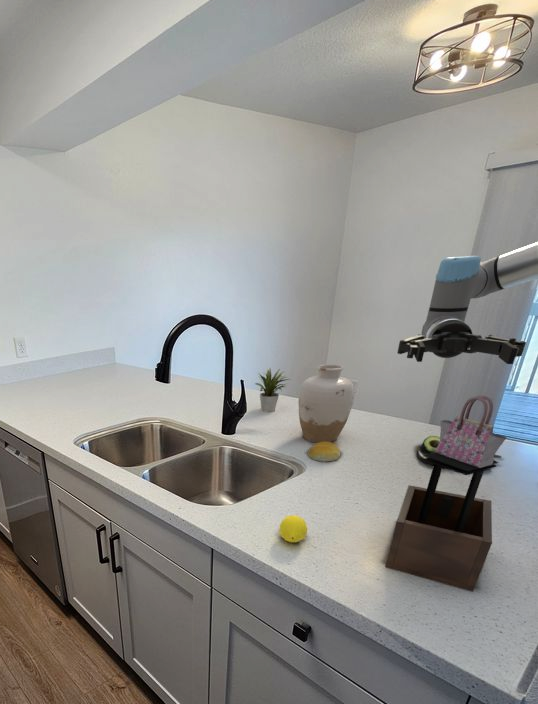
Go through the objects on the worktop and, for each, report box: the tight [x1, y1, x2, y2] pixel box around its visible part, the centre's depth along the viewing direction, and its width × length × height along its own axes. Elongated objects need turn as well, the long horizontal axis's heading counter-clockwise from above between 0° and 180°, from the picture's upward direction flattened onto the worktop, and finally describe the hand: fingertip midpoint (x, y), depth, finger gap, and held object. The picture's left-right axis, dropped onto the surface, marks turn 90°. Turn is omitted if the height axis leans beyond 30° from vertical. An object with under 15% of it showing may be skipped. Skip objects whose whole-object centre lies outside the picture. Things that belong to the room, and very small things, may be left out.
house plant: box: [254, 368, 293, 413], centre depth 166 cm, size 14×14×16 cm
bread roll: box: [307, 442, 341, 463], centre depth 127 cm, size 8×9×4 cm
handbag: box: [417, 394, 508, 533], centre depth 76 cm, size 10×8×30 cm
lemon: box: [279, 514, 308, 543], centre depth 89 cm, size 7×5×5 cm
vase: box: [297, 363, 355, 444], centre depth 136 cm, size 16×16×23 cm
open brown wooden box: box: [384, 484, 493, 592], centre depth 81 cm, size 13×16×10 cm
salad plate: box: [416, 435, 502, 469], centre depth 120 cm, size 19×18×5 cm
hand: (465, 355), depth 78 cm, fingers open, 13 cm apart
